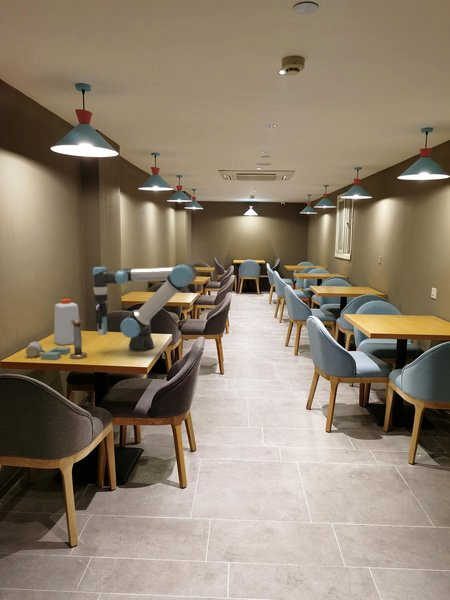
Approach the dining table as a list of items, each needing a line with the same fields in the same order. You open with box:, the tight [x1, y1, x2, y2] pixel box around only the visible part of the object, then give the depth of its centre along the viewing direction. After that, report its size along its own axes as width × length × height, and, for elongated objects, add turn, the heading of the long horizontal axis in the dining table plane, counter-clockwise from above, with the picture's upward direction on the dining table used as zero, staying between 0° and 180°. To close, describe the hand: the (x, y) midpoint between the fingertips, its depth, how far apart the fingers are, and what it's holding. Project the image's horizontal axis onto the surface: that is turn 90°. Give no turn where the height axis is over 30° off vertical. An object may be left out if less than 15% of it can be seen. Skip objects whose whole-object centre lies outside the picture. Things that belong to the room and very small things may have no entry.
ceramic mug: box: [25, 341, 47, 358], centre depth 263 cm, size 11×8×8 cm
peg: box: [97, 317, 108, 336], centre depth 268 cm, size 4×4×10 cm
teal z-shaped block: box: [41, 346, 72, 361], centre depth 264 cm, size 9×16×3 cm, turn 171°
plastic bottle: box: [53, 298, 83, 346], centre depth 294 cm, size 15×15×28 cm
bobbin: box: [69, 319, 88, 360], centre depth 260 cm, size 9×9×21 cm
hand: (102, 333), depth 269 cm, fingers closed on peg, 4 cm apart
